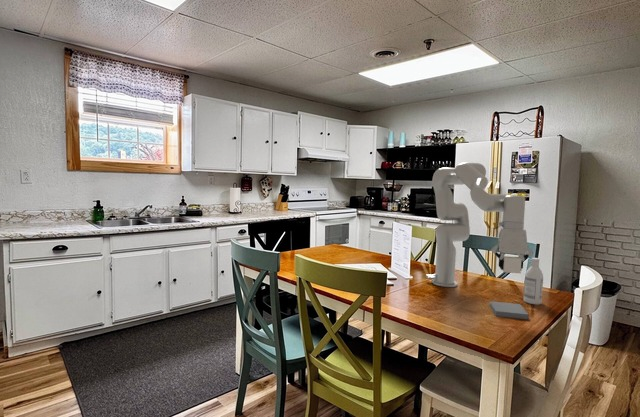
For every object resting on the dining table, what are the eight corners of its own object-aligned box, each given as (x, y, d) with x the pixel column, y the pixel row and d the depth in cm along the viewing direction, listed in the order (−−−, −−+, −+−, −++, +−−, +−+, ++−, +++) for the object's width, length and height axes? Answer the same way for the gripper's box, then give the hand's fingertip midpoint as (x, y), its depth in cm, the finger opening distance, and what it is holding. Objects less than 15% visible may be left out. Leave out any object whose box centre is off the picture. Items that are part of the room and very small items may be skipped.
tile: (495, 315, 143) (495, 311, 143) (489, 305, 155) (489, 301, 155) (528, 319, 140) (529, 314, 140) (519, 308, 152) (520, 304, 152)
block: (504, 272, 144) (505, 257, 144) (500, 268, 150) (501, 254, 149) (520, 273, 143) (521, 258, 142) (516, 269, 148) (517, 255, 148)
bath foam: (535, 299, 164) (538, 256, 162) (544, 305, 157) (548, 260, 155) (520, 299, 164) (523, 256, 162) (528, 304, 157) (532, 260, 155)
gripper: (491, 225, 143) (489, 270, 145) (540, 227, 139) (537, 273, 141) (488, 223, 151) (485, 265, 152) (533, 225, 146) (530, 268, 148)
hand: (510, 269), depth 146 cm, fingers closed on block, 6 cm apart
